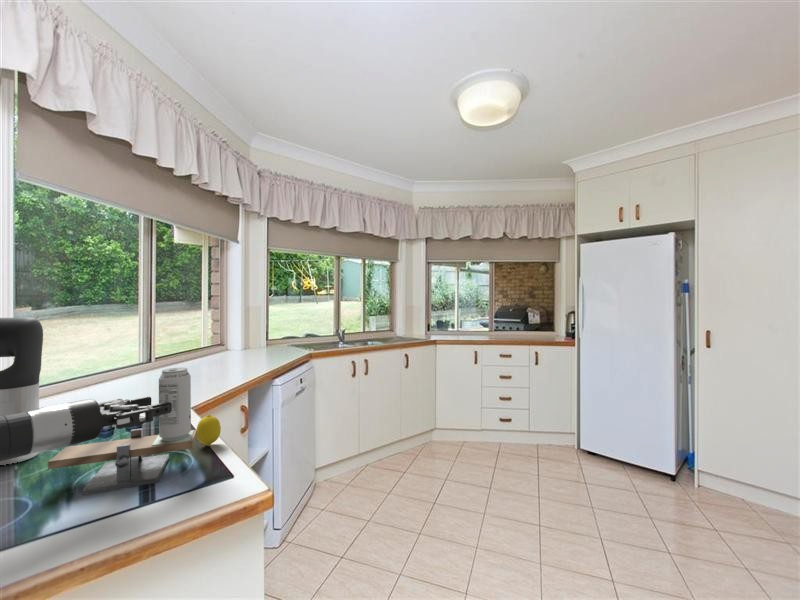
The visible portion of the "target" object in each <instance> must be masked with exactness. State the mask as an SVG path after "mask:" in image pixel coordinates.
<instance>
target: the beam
mask: <svg viewBox="0 0 800 600" xmlns="http://www.w3.org/2000/svg"><path fill="white" fill-rule="evenodd" d="M196 439H197V430H196V429H191V431H190V432H189V433H188V436H187V437H186V438H184V439H181V440H176V441H163V440H162V438H161V437H159V434H154V435H147V436H143V437H137V438H131V437H130V438H125V439H124V438H122V439H116V440H107V441H101V442H92V443H85V444H75V445H70V446H66V447H63V449H62V450H61V451H60V452H57V454H55V456H53V457H52V458H51V459H49V460H48V461H47V465H48V467H47V469H48V470H53V469H55V470H56V469H61V468H69V467H74V466H82V465H88V464H94V463H96V464H97V463H101V462H109V461H110V462H111V461H115V460H116V461H117V446H118V445H123V444H130V457H137V456H142V457H144V456H149V455H150V456H151V455H157V454H162V453H163V454H165V453H169V452H177V451H184V450H192V449H193V448H194V445H195V442H196Z"/></svg>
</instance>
